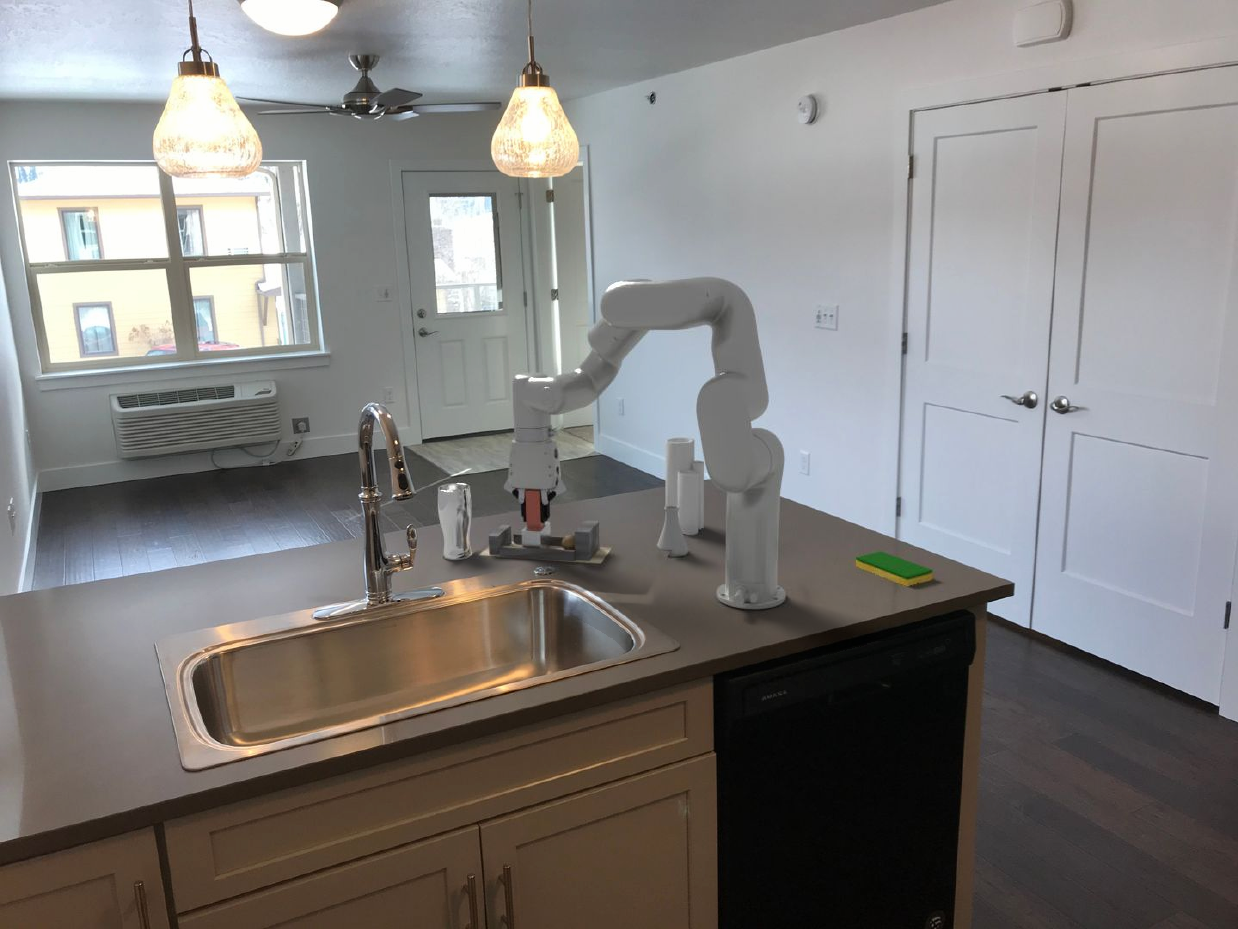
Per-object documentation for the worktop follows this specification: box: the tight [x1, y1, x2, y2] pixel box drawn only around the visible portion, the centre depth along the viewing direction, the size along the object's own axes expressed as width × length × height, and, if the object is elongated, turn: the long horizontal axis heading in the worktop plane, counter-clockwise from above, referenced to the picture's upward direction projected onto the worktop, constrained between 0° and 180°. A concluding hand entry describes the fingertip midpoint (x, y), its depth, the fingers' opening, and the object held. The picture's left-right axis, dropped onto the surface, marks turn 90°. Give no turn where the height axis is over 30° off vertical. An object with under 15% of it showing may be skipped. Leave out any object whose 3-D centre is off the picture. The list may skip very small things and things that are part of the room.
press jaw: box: [520, 489, 552, 549], centre depth 200 cm, size 7×4×13 cm, turn 167°
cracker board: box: [478, 520, 613, 564], centre depth 200 cm, size 10×26×8 cm, turn 77°
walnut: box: [562, 534, 575, 550], centre depth 199 cm, size 4×4×4 cm
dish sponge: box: [855, 551, 933, 587], centre depth 190 cm, size 7×14×2 cm, turn 31°
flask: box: [656, 505, 689, 558], centre depth 203 cm, size 7×7×10 cm
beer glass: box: [437, 482, 473, 561], centre depth 202 cm, size 7×7×15 cm
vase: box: [664, 437, 705, 536], centre depth 219 cm, size 11×7×20 cm, turn 27°
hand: (535, 520), depth 200 cm, fingers closed on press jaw, 3 cm apart
